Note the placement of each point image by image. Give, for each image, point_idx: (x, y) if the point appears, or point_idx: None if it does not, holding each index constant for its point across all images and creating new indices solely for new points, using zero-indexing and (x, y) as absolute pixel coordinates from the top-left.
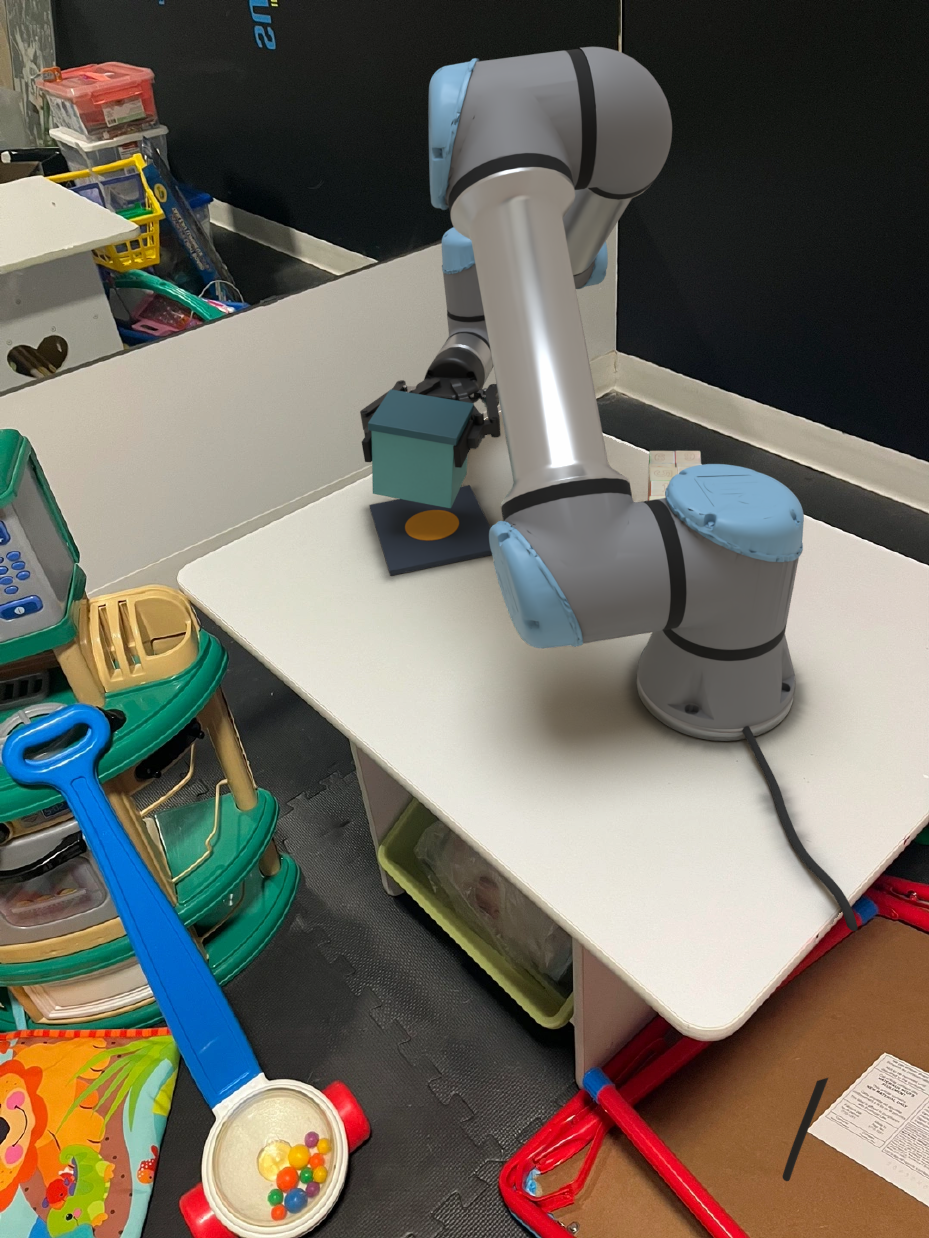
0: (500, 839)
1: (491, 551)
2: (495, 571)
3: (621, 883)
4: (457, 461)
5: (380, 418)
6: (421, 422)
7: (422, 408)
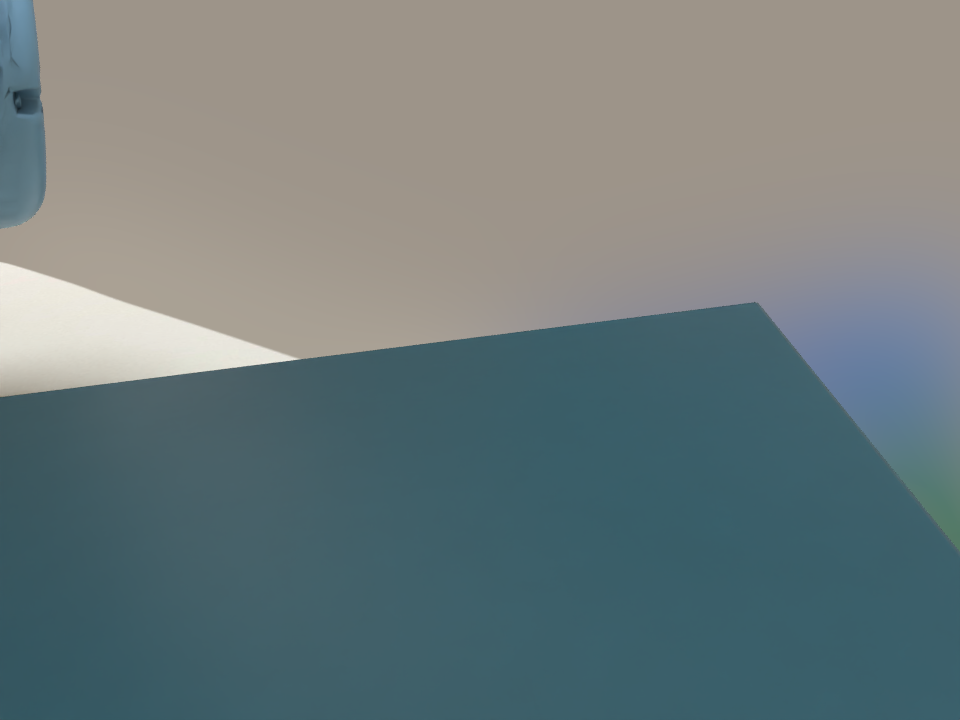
0: (161, 325)
1: (39, 82)
2: (44, 135)
3: (9, 309)
4: None
5: (700, 349)
6: (296, 423)
7: (318, 593)
